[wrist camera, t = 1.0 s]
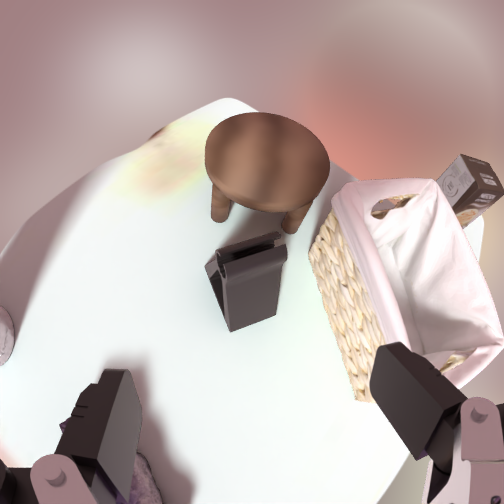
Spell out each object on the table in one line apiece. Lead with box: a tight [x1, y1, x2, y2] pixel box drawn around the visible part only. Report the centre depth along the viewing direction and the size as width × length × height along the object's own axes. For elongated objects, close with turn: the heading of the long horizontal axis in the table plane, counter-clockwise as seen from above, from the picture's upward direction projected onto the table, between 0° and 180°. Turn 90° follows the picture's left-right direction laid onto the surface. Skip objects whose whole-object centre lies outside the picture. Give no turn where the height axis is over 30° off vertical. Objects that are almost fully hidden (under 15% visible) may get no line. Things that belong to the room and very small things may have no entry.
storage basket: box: [308, 178, 504, 403], centre depth 32 cm, size 24×16×15 cm
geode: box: [59, 418, 163, 504], centre depth 20 cm, size 20×12×10 cm, turn 22°
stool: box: [205, 112, 330, 234], centre depth 40 cm, size 16×16×9 cm
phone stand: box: [205, 232, 287, 332], centre depth 32 cm, size 9×6×12 cm, turn 22°
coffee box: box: [436, 154, 504, 229], centre depth 40 cm, size 9×6×16 cm
